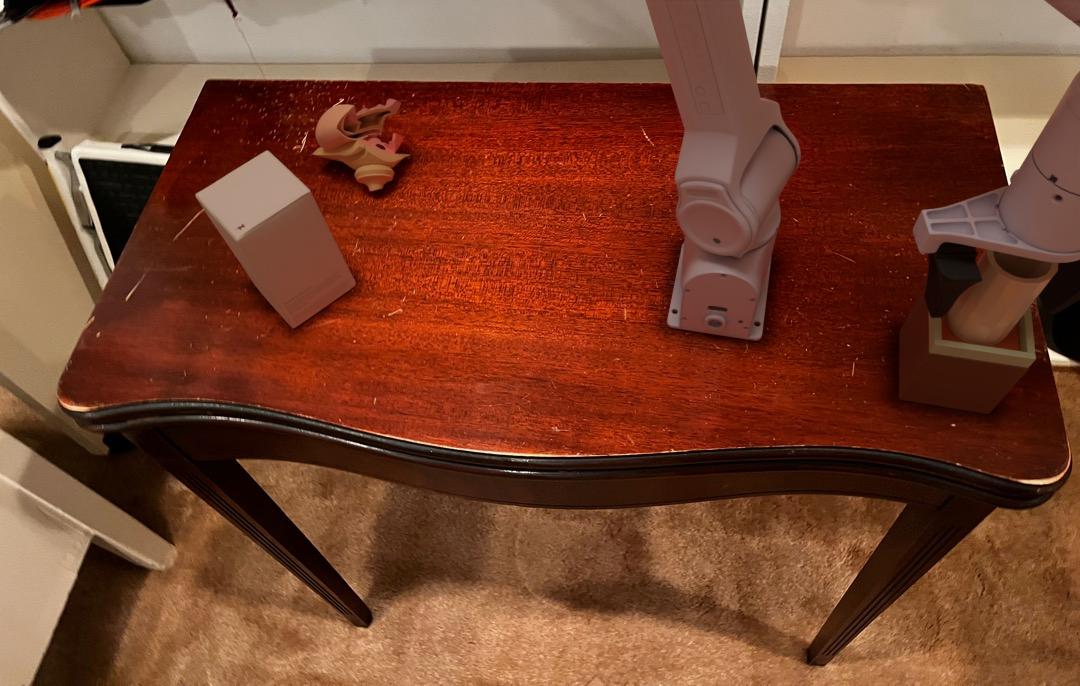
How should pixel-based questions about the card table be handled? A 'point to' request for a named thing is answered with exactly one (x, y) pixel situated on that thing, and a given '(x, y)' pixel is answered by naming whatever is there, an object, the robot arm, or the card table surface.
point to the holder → (959, 363)
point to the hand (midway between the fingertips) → (989, 304)
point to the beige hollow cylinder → (998, 297)
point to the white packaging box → (278, 237)
